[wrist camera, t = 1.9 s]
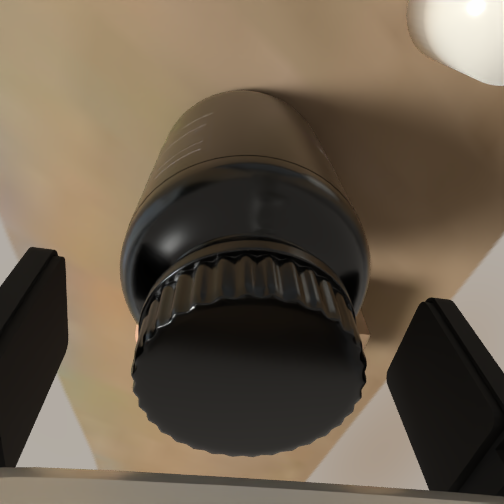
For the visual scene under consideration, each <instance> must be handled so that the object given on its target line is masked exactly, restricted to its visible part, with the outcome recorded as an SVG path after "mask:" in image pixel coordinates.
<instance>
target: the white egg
mask: <svg viewBox="0 0 504 504" xmlns="http://www.w3.org/2000/svg"><path fill="white" fill-rule="evenodd" d="M406 17H407V26H408V31H409V34H410V37H411V39H412V41H413V43H414V45H415V46H416V47H417V49H418V50H419V51H420V52H421V53H422V54H424V55H425V56H427V57H428V58H430V59H432V60H435V61H437V62H439V63H441V64H443V65H446V66H448V67H450V68H452V69H454V70H457V71H459V72H461V73H463V74H465V75H468V76H470V77H472V78H474V79H476V80H479V81H481V82H483V83H486V84H490V85H497V86H504V0H408V4H407V15H406Z"/></svg>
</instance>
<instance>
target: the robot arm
mask: <svg viewBox="0 0 504 504" xmlns="http://www.w3.org/2000/svg"><path fill="white" fill-rule="evenodd" d="M67 345H68V318H67V293H66V268H65V258H64V257H60V256H58V254H57V251H56V250H52V249H44V248H36V247H30V248H29V249H28V250H27V252H26V253H25V254H24V256H23V257H22V258H21V260H20V261H19V262H18V264H17V265H16V266H15V268H14V269H13V270H12V272H11V273H10V274H9V276H8V277H7V278H6V280H5V281H4V283H3V284H2V285H1V287H0V504H504V373H503V371H502V370H501V369H500V367H499V366H498V364H497V363H496V362H495V361H494V359H493V357H492V356H491V354H490V353H489V352H488V350H487V349H486V347H485V346H484V345H483V343H482V342H481V340H480V339H479V338H478V336H477V335H476V334H475V332H474V330H473V329H472V327H471V326H470V325H469V323H468V322H467V320H466V319H465V318H464V316H463V315H462V313H461V312H460V311H459V309H458V308H457V306H456V305H455V303H454V302H453V301H451V300H447V299H439V298H428V299H427V300H426V301H425V302H421V303H420V304H419V306H418V308H417V310H416V312H415V314H414V316H413V319H412V321H411V323H410V325H409V327H408V329H407V331H406V333H405V335H404V337H403V340H402V342H401V344H400V346H399V348H398V350H397V352H396V354H395V356H394V358H393V360H392V363H391V365H390V367H389V369H388V371H387V384H388V387H389V389H390V392H391V394H392V397H393V400H394V402H395V405H396V407H397V410H398V412H399V415H400V417H401V420H402V422H403V425H404V427H405V430H406V432H407V435H408V437H409V440H410V443H411V445H412V447H413V450H414V453H415V455H416V458H417V460H418V463H419V465H420V467H421V470H422V473H423V475H424V478H425V480H426V483H427V485H428V488H429V491H428V490H415V489H399V488H386V487H385V488H384V487H371V486H357V485H341V484H326V483H311V482H296V481H280V480H264V479H248V478H232V477H215V476H198V475H181V474H164V473H147V472H129V471H111V470H86V469H63V468H40V467H39V468H38V467H28V468H27V467H26V468H25V467H17V468H16V464H17V462H18V460H19V458H20V455H21V453H22V451H23V448H24V446H25V444H26V441H27V439H28V437H29V435H30V433H31V430H32V428H33V426H34V423H35V421H36V419H37V417H38V414H39V412H40V410H41V407H42V405H43V403H44V401H45V398H46V396H47V394H48V391H49V389H50V387H51V384H52V382H53V380H54V378H55V376H56V373H57V371H58V369H59V367H60V364H61V362H62V360H63V357H64V355H65V353H66V350H67Z"/></svg>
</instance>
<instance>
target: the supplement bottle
mask: <svg viewBox="0 0 504 504" xmlns="http://www.w3.org/2000/svg"><path fill="white" fill-rule="evenodd" d="M370 270H371V269H370V252H369V246H368V242H367V239H366V235H365V233H364V230H363V227H362V225H361V223H360V220H359V218H358V216H357V214H356V212H355V210H354V208H353V206H352V204H351V202H350V200H349V198H348V196H347V194H346V192H345V190H344V188H343V186H342V184H341V183H340V181H339V179H338V177H337V175H336V173H335V171H334V169H333V167H332V165H331V163H330V161H329V159H328V157H327V155H326V153H325V151H324V150H323V148H322V146H321V144H320V142H319V140H318V138H317V136H316V135H315V133H314V131H313V130H312V128H311V127H310V125H309V124H308V122H307V121H306V120H305V119H304V118H303V117H302V116H301V114H299V113H298V112H297V111H296V110H295V109H294V108H293V107H291V106H290V105H289V104H287V103H285V102H284V101H282V100H280V99H278V98H276V97H274V96H271V95H268V94H265V93H261V92H256V91H248V90H237V91H228V92H223V93H219V94H216V95H213V96H210V97H208V98H206V99H204V100H202V101H200V102H198V103H197V104H195V105H194V106H192V107H191V108H190V109H189V110H188V111H186V112H185V113H184V114H183V115H182V116H181V117H180V118H179V120H178V121H177V122H176V124H175V125H174V126H173V128H172V129H171V131H170V133H169V135H168V137H167V139H166V141H165V143H164V145H163V147H162V149H161V152H160V154H159V156H158V159H157V161H156V163H155V166H154V168H153V170H152V173H151V175H150V177H149V180H148V182H147V184H146V187H145V189H144V191H143V194H142V196H141V198H140V201H139V203H138V205H137V208H136V210H135V212H134V215H133V217H132V219H131V222H130V224H129V227H128V230H127V233H126V236H125V239H124V242H123V247H122V251H121V258H120V279H121V286H122V290H123V294H124V297H125V301H126V303H127V305H128V308H129V310H130V312H131V314H132V316H133V318H134V320H135V321H136V323H137V324H138V340H137V344H136V348H135V356H134V360H133V364H132V368H131V375H132V378H133V380H134V382H133V392H134V393H135V395H136V396H137V397H138V398H139V407H140V408H141V409H142V410H143V411H145V412H146V413H147V418H148V420H149V421H151V422H152V423H154V424H156V425H157V426H158V428H159V430H160V431H161V432H162V433H165V434H167V435H170V436H171V437H172V438H173V439H174V440H175V441H176V442H180V443H184V444H187V445H189V446H190V447H192V448H193V449H198V450H205V451H207V452H209V453H212V454H225V455H228V456H232V457H234V456H248V457H255V456H259V455H274V454H277V453H279V452H284V451H292V450H294V449H296V448H298V447H299V446H303V445H308V444H311V443H312V442H313V441H315V440H316V439H317V438H320V437H323V436H326V435H327V434H328V433H329V432H330V431H331V430H332V429H333V428H335V427H337V426H339V425H341V424H342V422H343V420H344V418H345V417H346V416H348V415H349V414H351V413H352V412H353V410H354V405H355V404H356V403H357V402H358V401H359V400H360V399H361V397H362V393H361V389H362V388H363V387H364V385H365V383H366V375H365V370H366V366H367V362H366V357H365V354H364V351H363V348H362V341H361V338H360V335H359V332H358V329H357V326H356V317H357V315H358V313H359V311H360V309H361V307H362V305H363V302H364V299H365V296H366V293H367V290H368V285H369V280H370Z"/></svg>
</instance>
